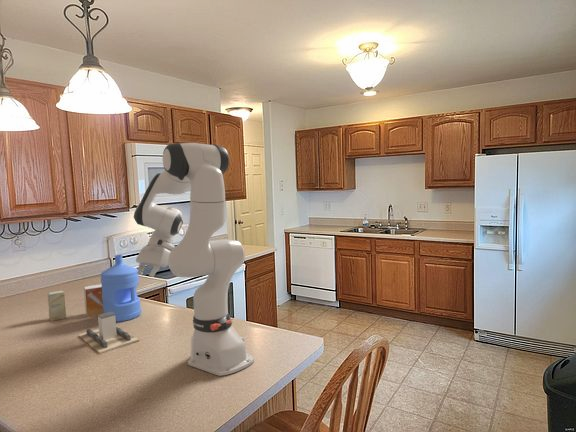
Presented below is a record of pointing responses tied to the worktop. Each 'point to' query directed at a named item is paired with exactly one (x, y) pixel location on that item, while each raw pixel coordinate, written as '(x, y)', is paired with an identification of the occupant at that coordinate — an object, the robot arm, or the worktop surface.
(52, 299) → the skincare box
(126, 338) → the rail board
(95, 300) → the small box
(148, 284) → the worktop surface
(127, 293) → the water jug
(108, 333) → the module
